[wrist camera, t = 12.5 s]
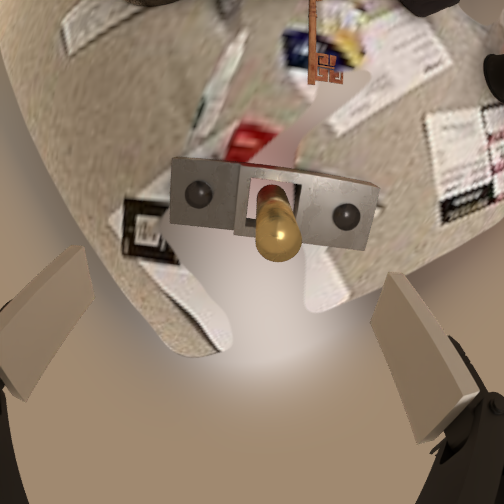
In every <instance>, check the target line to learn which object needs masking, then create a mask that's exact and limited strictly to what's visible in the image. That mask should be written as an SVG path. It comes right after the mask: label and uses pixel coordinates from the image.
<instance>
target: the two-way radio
mask: <svg viewBox="0 0 504 504" xmlns="http://www.w3.org/2000/svg"><path fill="white" fill-rule="evenodd" d="M400 1H401V2H402V3H403V4H404V5H405V6H406V7H407V8H408V9H409V10H410V11H412V12H413V13H414V14H415V15H417V16H419V17H426V16H428V15H431V14H433V13H436V12H438V11H440V10H443V9H445V8H447V7H451V6H453V5H455V4H457V3H459V1H460V0H400Z"/></svg>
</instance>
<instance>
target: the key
mask: <svg viewBox="0 0 504 504" xmlns="http://www.w3.org/2000/svg"><path fill="white" fill-rule="evenodd" d="M316 1H321V0H310V4H309V7H310V9H309V12H310V13H309V16H308V17H309V60H308V84H312V85H315V80H318V81H324V82H328V70H327V69H321V68H319V75H323V77H321V76H317V67H325V68H331V69H334V68H333V67H328V66H321V65H318V56H323V58H321V57H320V58H319V64H325V65H328V55H327V54H321V53H316V18H317V15H316ZM335 62H336V56H332V55H330V65H331V66H335ZM335 78H339V72H334V71H333V70H330V73H329V82H331V83H336V84H343V72H341V73H340V80H339V79H335Z"/></svg>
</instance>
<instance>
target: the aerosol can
mask: <svg viewBox="0 0 504 504" xmlns="http://www.w3.org/2000/svg"><path fill="white" fill-rule="evenodd" d="M484 74H485V78H486V81H487V84H488V86H489V88H490V90H491V92H492V93H493V95H494V96H495V97H496V98H497V99H498V100H499V101H501V102H503V103H504V54H502V55H495V54H490V55H488V56H487V57H486V58H485V61H484Z"/></svg>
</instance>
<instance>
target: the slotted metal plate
mask: <svg viewBox="0 0 504 504" xmlns="http://www.w3.org/2000/svg"><path fill="white" fill-rule="evenodd" d="M251 178H258V179H266V180H274V181H282V182H289V183H295V184H298V186H297V192H296V198H295V204H294V210H293V214H294V217H295V219H296V222H297V225H298V227H299V230H300V233H301V236H302V243H306V244H314V245H322V246H330V247H338V248H346V249H353V250H361V251H365V247H366V244H367V240H368V237H369V233H370V229H371V225H372V221H373V217H374V213H375V209H376V205H377V201H378V196H379V192H380V188H379V187H378V186H376V185H374V184H372V183H370V182H365V181H360V180H356V179H350V178H345V177H340V176H335V175H329V174H323V173H318V172H312V171H305V170H299V169H292V168H285V167H278V166H271V165H263V164H254V163H245V162H236V161H226V160H214V159H202V158H187V157H174V158H172V170H171V193H170V223H171V224H181V225H190V226H201V227H209V228H219V229H227V230H234V235H238V236H247V237H256V219H250V218H246V214H247V206H248V198H249V189H250V181H251Z"/></svg>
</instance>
